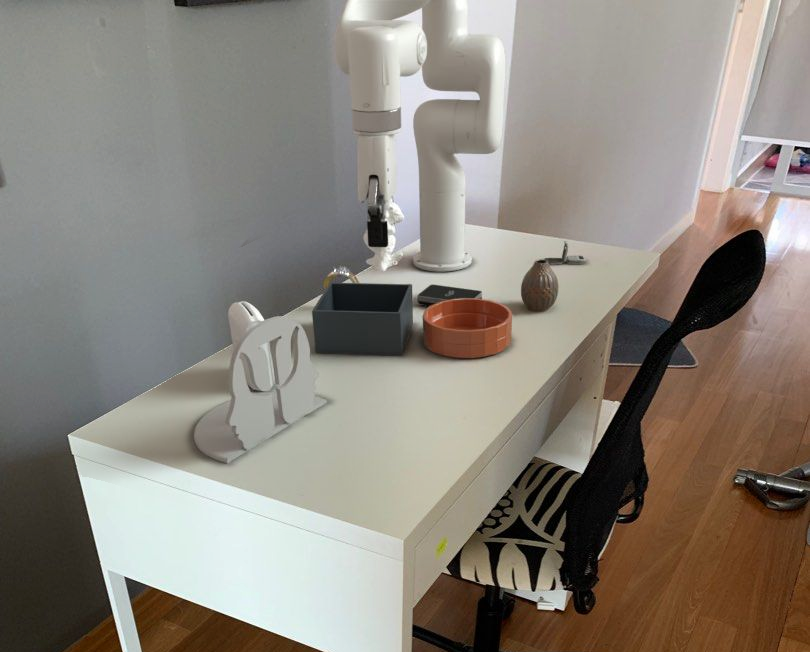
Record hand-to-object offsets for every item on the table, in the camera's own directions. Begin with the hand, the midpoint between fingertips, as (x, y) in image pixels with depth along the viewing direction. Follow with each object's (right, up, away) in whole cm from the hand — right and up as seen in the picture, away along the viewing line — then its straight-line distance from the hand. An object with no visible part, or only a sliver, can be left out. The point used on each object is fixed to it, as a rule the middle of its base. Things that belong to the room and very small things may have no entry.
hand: (382, 238), depth 141 cm
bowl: (+15, -15, +8) cm, 23 cm away
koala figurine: (0, -4, +2) cm, 4 cm away
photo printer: (-21, -24, -2) cm, 31 cm away
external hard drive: (+12, -4, +23) cm, 27 cm away
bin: (-3, -14, +11) cm, 18 cm away
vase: (+29, -6, +20) cm, 36 cm away
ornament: (-20, -32, -13) cm, 40 cm away
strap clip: (+38, +9, +41) cm, 57 cm away
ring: (-8, -6, +23) cm, 25 cm away
